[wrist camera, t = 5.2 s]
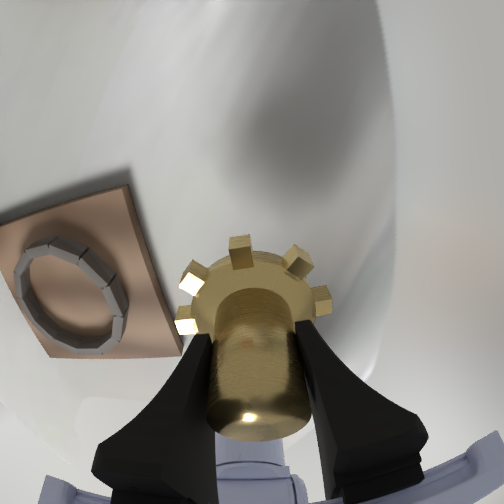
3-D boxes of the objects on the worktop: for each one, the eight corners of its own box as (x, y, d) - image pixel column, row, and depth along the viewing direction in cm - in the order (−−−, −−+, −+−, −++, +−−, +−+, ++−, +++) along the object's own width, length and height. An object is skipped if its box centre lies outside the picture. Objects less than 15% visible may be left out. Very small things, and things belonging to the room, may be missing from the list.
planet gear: (326, 344, 17) (355, 443, 11) (199, 361, 17) (187, 462, 11) (323, 223, 13) (383, 320, 7) (159, 248, 13) (108, 354, 7)
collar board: (183, 346, 26) (178, 369, 23) (54, 350, 26) (44, 367, 24) (127, 184, 19) (112, 195, 16) (-8, 228, 20) (-26, 240, 17)
